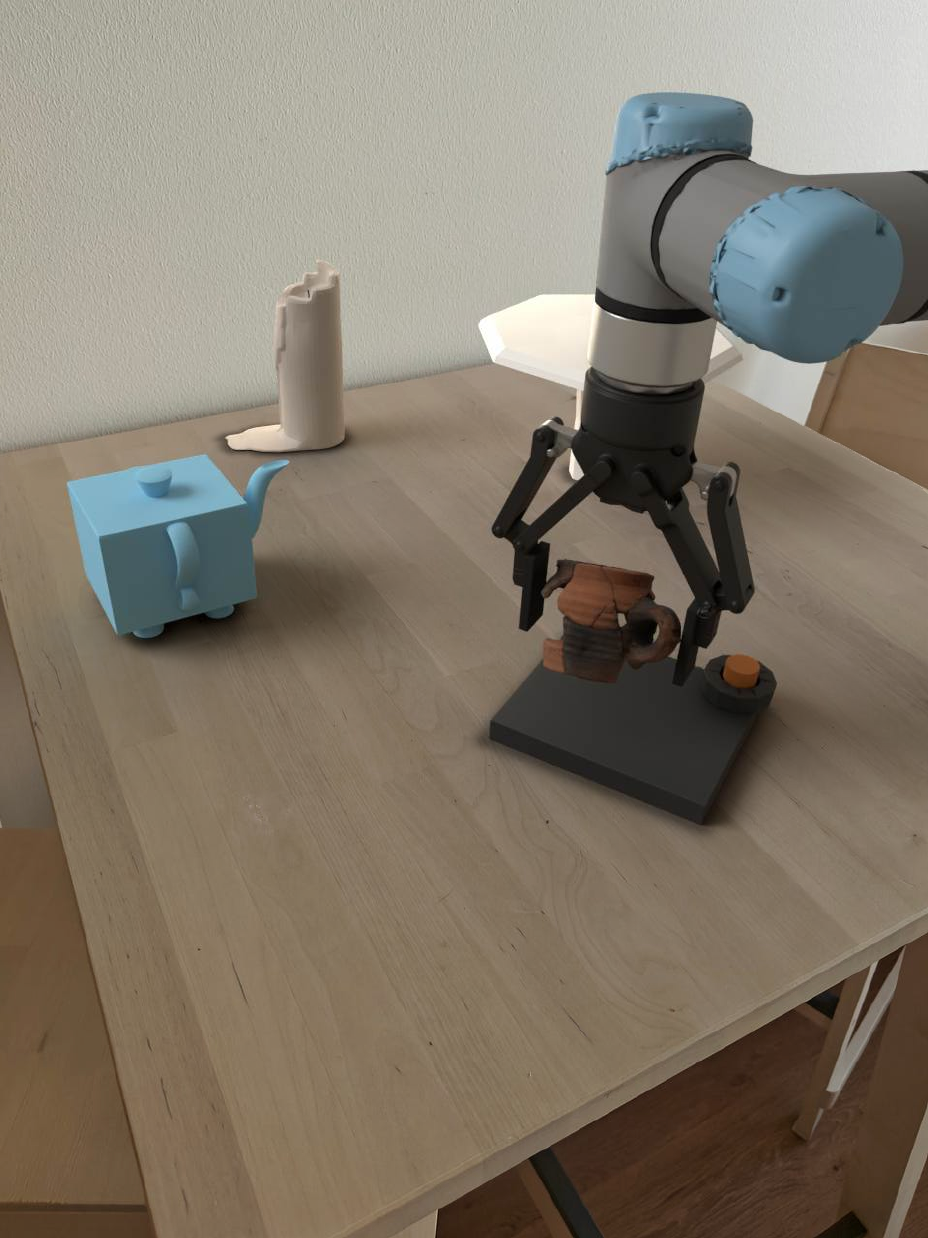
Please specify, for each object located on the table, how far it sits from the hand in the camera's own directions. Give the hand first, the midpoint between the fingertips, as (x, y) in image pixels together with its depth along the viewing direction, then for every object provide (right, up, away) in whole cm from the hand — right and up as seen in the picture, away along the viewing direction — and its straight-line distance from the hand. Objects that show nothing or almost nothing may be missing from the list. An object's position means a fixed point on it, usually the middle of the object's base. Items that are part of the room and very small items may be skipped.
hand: (604, 648), depth 76 cm
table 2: (+4, +18, +39) cm, 43 cm away
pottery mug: (0, -1, 0) cm, 1 cm away
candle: (-32, +23, +43) cm, 59 cm away
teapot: (-34, +4, +16) cm, 38 cm away
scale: (+2, -6, +4) cm, 7 cm away
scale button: (+11, -3, +4) cm, 12 cm away
